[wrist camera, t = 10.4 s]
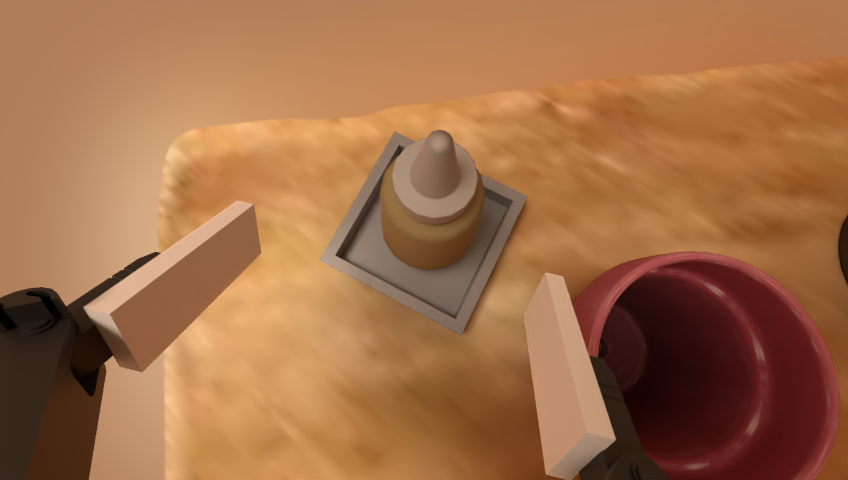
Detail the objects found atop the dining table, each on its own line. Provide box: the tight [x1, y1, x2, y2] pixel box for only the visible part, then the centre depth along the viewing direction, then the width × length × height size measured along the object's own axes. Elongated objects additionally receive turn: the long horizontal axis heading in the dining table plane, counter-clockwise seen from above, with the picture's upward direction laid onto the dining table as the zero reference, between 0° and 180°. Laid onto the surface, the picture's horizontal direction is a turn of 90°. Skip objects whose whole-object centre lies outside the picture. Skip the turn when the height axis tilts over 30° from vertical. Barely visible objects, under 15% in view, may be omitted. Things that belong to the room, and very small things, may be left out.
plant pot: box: [571, 252, 840, 480], centre depth 24 cm, size 14×14×13 cm
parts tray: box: [320, 132, 527, 335], centre depth 30 cm, size 14×14×3 cm
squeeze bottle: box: [380, 130, 485, 271], centre depth 22 cm, size 8×8×18 cm
